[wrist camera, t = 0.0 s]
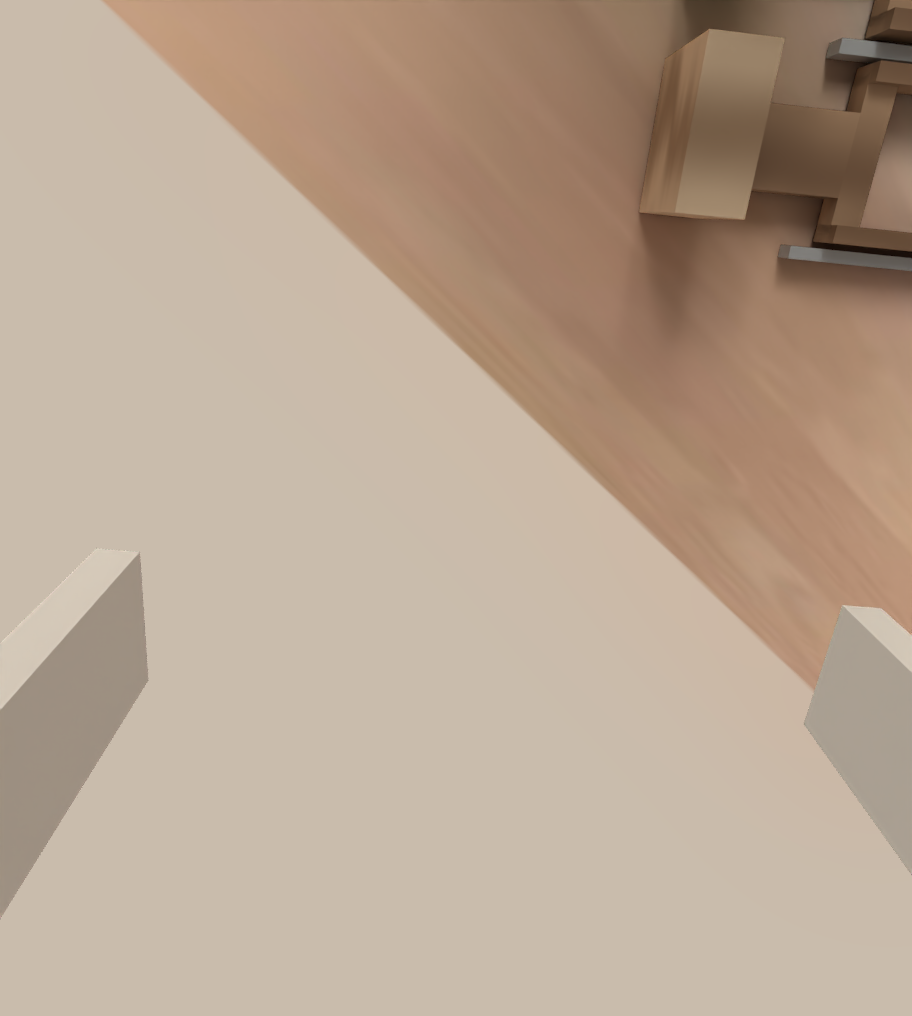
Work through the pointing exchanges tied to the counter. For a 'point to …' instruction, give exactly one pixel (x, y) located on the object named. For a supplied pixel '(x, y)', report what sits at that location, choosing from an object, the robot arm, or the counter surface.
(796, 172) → the sled
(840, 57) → the lane rails
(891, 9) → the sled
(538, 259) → the counter surface
